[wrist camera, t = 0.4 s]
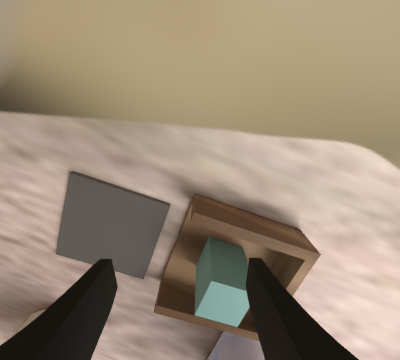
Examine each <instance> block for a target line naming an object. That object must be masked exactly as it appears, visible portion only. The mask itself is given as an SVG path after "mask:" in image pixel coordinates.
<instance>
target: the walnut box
mask: <svg viewBox="0 0 400 360" xmlns="http://www.w3.org/2000/svg"><path fill="white" fill-rule="evenodd" d="M209 237H211V238H214V239H217V240H221V241H224V242H227V243H230V244H233V245H236V246H239V247H242V248H243V249H244V252H245V255H246V259H247V262H248V264H249V258H262V259H263V261H264V262H265V263H266V265H267V266H268V267H269V269H270V270H271V271H272V272H273V274H274V275H275V276H276V278H277V279H278V280H279V281H280V282H281V284H282V285H283V286H284V287H285V288H286V290H287V291H288V292H289V293H290V294H291V295H292V296H293V295H294V293H295V292H296V290H297V289H298V287H299V286H300V284H301V283H302V281H303V280H304V278H305V277H306V276H307V274H308V273H309V271H310V270H311V268H312V267H313V265H314V264H315V262H316V261H317V259H318V258H319V256H320V255H321V254H320V253H319V252H318V251H317V250H316V248H315V247H314V246H313V245H312V243H311V242H310V241H309V240H308V238H307V237H306V236H305V235H304V234H303V232H302V231H301V230H299V229H297V228H294V227H291V226H288V225H285V224H282V223H279V222H276V221H273V220H270V219H267V218H265V217H262V216H259V215H256V214H253V213H250V212H247V211H244V210H241V209H238V208H235V207H232V206H230V205H227V204H224V203H221V202H218V201H215V200H212V199H209V198H206V197H203V196H200V195H198V194H195V196H194V198H193V201H192V203H191V206H190V209H189V211H188V214H187V216H186V219H185V221H184V224H183V226H182V229H181V231H180V234H179V236H178V239H177V241H176V244H175V247H174V249H173V252H172V254H171V257H170V259H169V262H168V264H167V267H166V269H165V272H164V274H163V277H162V279H161V282H160V287H159V291H158V296H157V300H156V304H155V309H154V313H157V314H161V315H165V316H168V317H172V318H176V319H180V320H183V321H187V322H191V323H194V324H198V325H202V326H206V327H209V328H213V329H217V330H220V331H224V332H228V333H232V334H235V335H239V336H243V337H246V338H250V339H254V340H257V341H259V338H258V334H257V331H256V327H255V324H254V321H253V317H252V314H251V310H250V307H249V309H248V311H247V312H246V314H245V316H244V317H243V319H242V321H241V322H240V324H239V326H238V327H235V326H231V325H228V324H224V323H221V322H217V321H213V320H210V319H206V318H202V317H199V316H195V283H196V264H197V262H198V260H199V258H200V255H201V253H202V251H203V249H204V246H205V244H206V242H207V240H208V238H209Z"/></svg>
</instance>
